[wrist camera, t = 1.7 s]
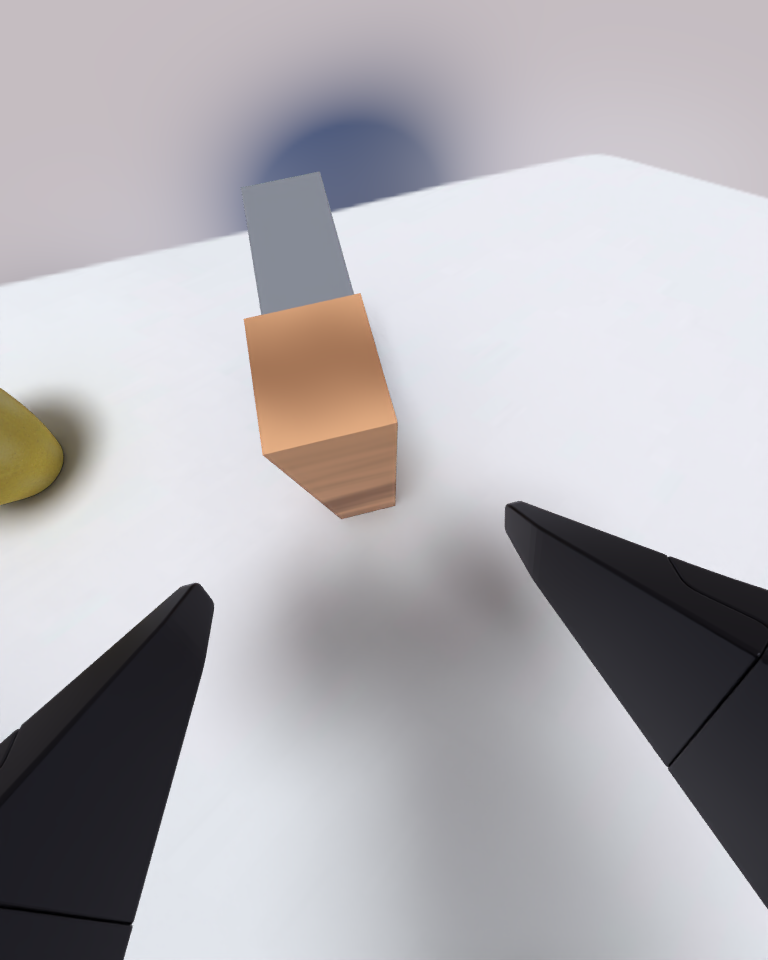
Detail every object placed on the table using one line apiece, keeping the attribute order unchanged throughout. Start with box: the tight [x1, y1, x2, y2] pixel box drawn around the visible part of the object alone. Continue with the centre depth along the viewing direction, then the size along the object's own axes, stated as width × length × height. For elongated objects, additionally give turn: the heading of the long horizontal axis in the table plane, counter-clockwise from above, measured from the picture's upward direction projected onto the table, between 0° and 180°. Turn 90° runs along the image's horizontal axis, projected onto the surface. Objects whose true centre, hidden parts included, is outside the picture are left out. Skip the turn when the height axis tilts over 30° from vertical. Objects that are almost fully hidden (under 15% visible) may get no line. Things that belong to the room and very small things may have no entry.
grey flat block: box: [241, 172, 354, 315], centre depth 18 cm, size 10×4×11 cm, turn 14°
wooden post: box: [244, 293, 398, 519], centre depth 15 cm, size 5×4×13 cm
